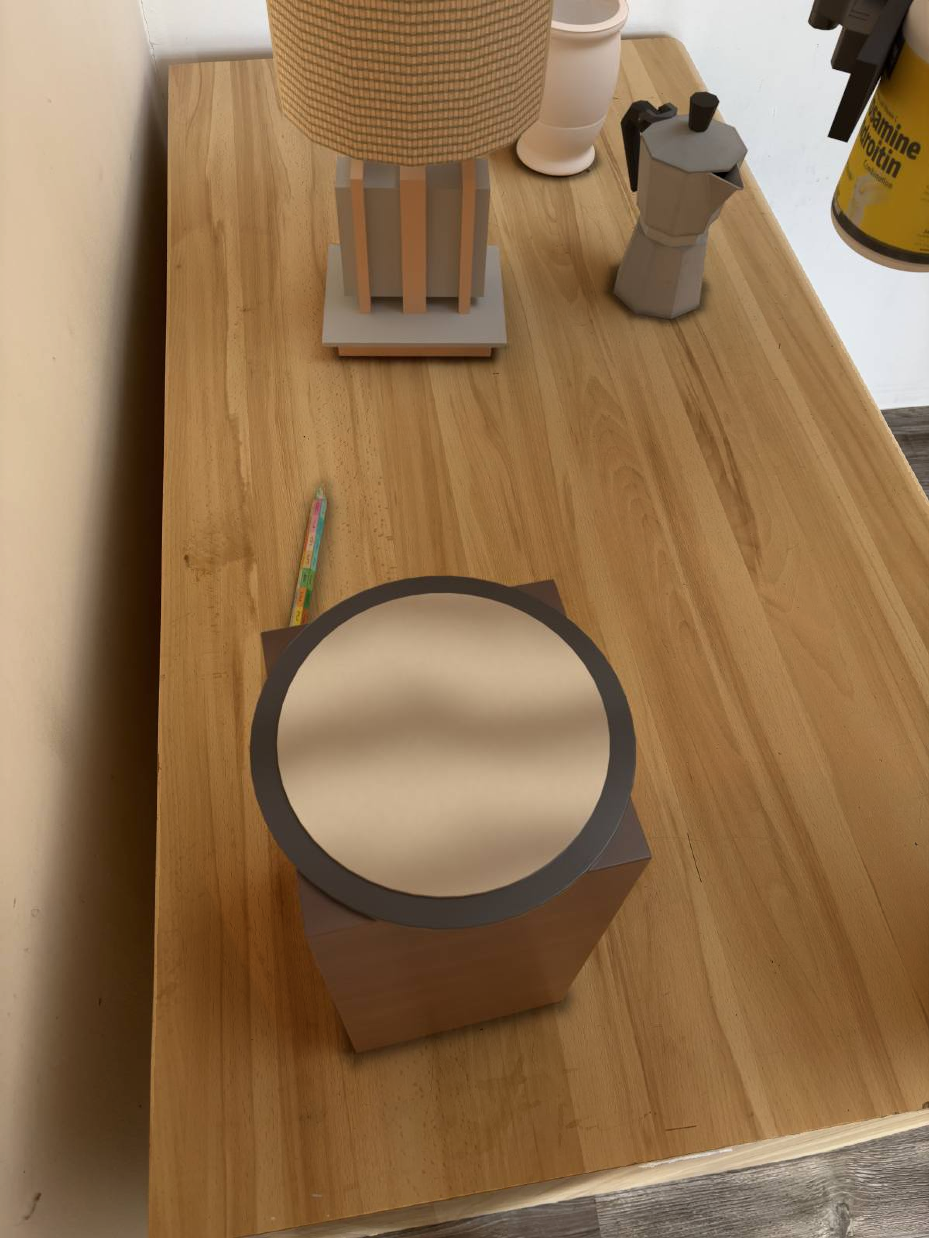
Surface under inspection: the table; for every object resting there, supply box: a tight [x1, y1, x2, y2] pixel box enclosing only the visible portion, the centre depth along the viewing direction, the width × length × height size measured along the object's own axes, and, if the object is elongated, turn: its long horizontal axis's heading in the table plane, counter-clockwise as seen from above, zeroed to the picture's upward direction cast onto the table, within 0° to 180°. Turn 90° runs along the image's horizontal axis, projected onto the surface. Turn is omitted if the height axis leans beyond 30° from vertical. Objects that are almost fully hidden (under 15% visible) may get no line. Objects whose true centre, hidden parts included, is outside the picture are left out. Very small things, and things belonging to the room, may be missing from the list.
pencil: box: [288, 482, 328, 627], centre depth 69 cm, size 1×1×18 cm
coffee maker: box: [612, 91, 749, 320], centre depth 81 cm, size 15×9×18 cm, turn 32°
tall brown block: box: [248, 575, 653, 1054], centre depth 45 cm, size 14×14×27 cm
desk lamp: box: [265, 0, 554, 357], centre depth 71 cm, size 20×20×35 cm
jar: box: [516, 0, 630, 177], centre depth 94 cm, size 11×10×15 cm
